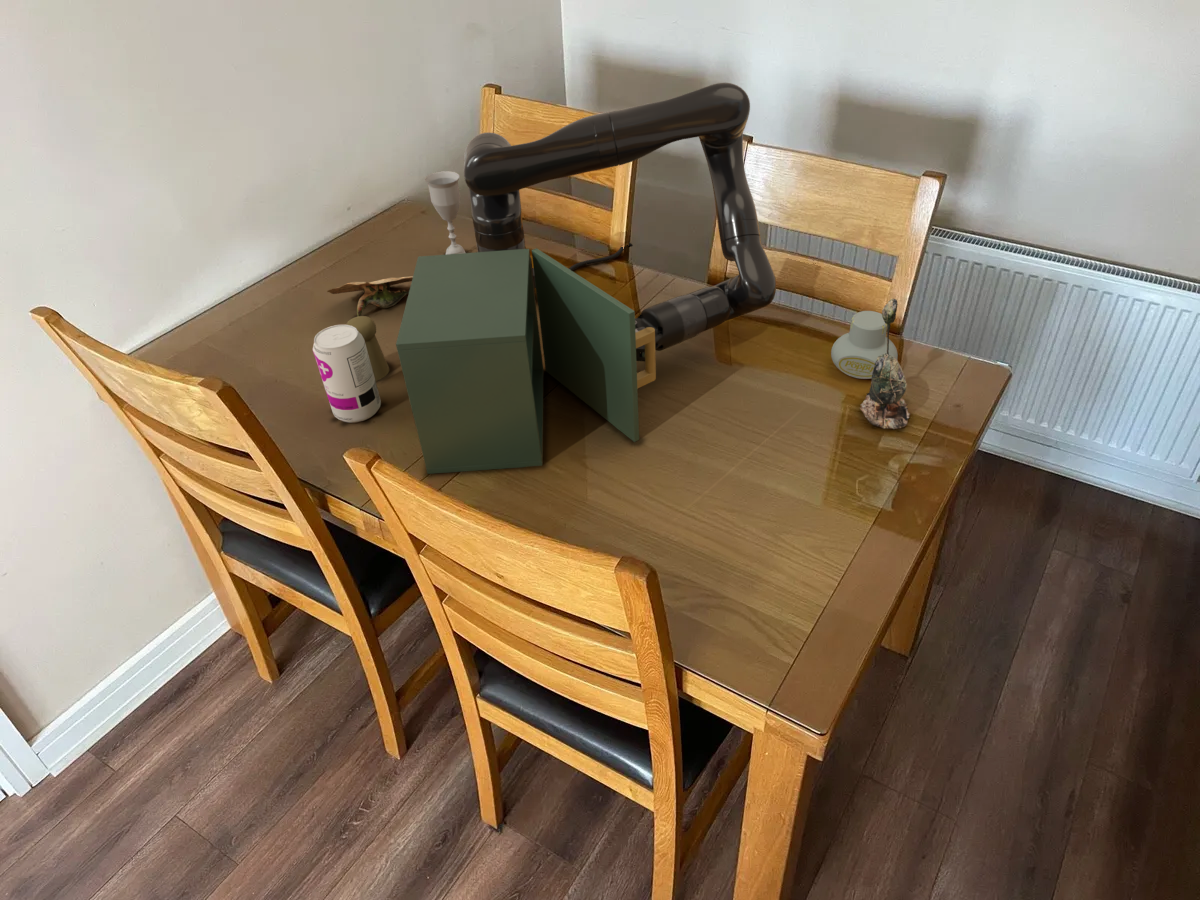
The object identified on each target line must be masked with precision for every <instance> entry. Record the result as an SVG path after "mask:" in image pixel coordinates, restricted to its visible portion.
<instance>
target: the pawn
mask: <svg viewBox="0 0 1200 900" xmlns="http://www.w3.org/2000/svg"><path fill="white" fill-rule="evenodd" d="M345 325H350V326H353V327H355V328H356V329H357V331H358V332H359V333H360V334H361V335H362V336H363V338H364V341H365V344H366V348H367V352H368V355H369V359H370V363H371V367H372V370H373V374H374V378H375V381H376V382H377V381H380V380H381V379H383V378H385V377H387V375H388V374H389V372H390V366H389V364H388V362H387V360H386V357H385V355H384V352H383V350H382V347H381V346H380V345H381V344H380V343H379V341H378V338H377V336H376V333H377V326H376V322H375V320H374V319H372V318H371V317H369V316H366V315H361V316H354V317H353V318H350V319H349V320H348V321H347V323H346V324H345Z"/></svg>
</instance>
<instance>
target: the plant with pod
mask: <svg viewBox="0 0 1200 900" xmlns="http://www.w3.org/2000/svg"><path fill="white" fill-rule="evenodd" d="M897 311H898V300H897V299H896V298H890V299H889V300H888V302H887V303H886V304H885V305H884V306H883V308H882V310H881V314H882V317H883V320H884V322H885V323H886V324H887V332H886V337H887V353H885V354H884V355H880V356H878V358H877V360H876V363H875V365H874V369H873V373H872V378H871V382H870V387H869V391H868V392H867V393H866V395H865V399H864V400H863V402H861V404H860V407H859V409H860V411H861V412H862V413H863V416H864V417H865V418H866V420H867V422H868V423H869V424H870V425H872V426H874V427H878V428H882V429H893V430H895V429H896V430H898V429H902V428H904V427H906V426H907V425H908V423H909V422H908V420H909V418H910V415H911V413H910V412H909V411H908V409H909V408H908V404H907V403H906V401H905V400H906V399H904V398H903V397H904V395H905V393H906V391H907V386H908V384H907V383H908V382H907V381H906V377H905V373H904V371H903V369H902V366H901V364H900V363H899V361H898V359H896V358H895V357H893V356H891V355H889V352H888V350H889V339H890V330H891V324H893V323H895V320H896V317H897Z"/></svg>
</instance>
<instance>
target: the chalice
mask: <svg viewBox="0 0 1200 900" xmlns="http://www.w3.org/2000/svg"><path fill="white" fill-rule="evenodd" d="M459 180H460V174H459V173H457V172H455V171H451V170H443V171H435V172H432V173H430V174H427V175H426V176H425V177H424V181H425V183H426V184H427V185H428V191H429V196H430V201H431V204H432V205H433V207H434V209H435V210H436V212H437V214H438V215H439V216H440V218H441V219H442V220H443V221H446V222H447V230H448V232H449V235H448V238H449V240H450V244H449V246H448V247H447V248H446V250H445V255H447V254H461V253H467V252H466V250H465V249H464V247H463V246H462V245H461V244H458V243H457V241H456V238H457V234H455V228H456V227H455V226H454V224H453V221H454V220H455V219H456V218H457V215H458V212H459V209H460V205H461V193H460V187H459Z"/></svg>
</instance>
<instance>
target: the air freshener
mask: <svg viewBox="0 0 1200 900" xmlns="http://www.w3.org/2000/svg"><path fill="white" fill-rule="evenodd" d="M897 349H898V348H897V347H896V346H895V344H894V342H893V341H892V340H891V339H890V338H889V350H888V352H889V355H891V356H893V357H895V358H896V359H897V360H898V358H899V357H898V356H899V355H898V350H897ZM885 353H887V324H886V323H885V322H884V320H883V317H882V313H881V312H878V311H874V310H862V311H859V312H856V313H855V314H854V315H853V316H852V317H851V319H850V327H849V332H847V333H844V334H842V335H841V336H839V337H838V338H837V339H836V341H834V343H833V345H832V347H831V351H830V357H831V360H832V363H833V364H834V366H835V367H836V368H837V369H838V370H839V371H840V372H842V373H843V374H845V375H847V376H849V377H851V378H855V379H861V380H872V373H873V369H874V365H875V363H876V360H877V358H878V356H880V355H884V354H885Z"/></svg>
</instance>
